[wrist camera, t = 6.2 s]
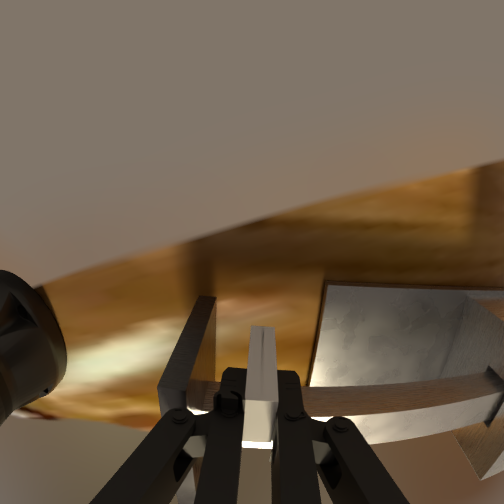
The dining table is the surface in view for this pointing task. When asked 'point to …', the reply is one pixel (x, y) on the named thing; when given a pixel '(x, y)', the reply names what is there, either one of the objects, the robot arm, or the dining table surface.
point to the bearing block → (415, 346)
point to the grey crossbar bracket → (329, 395)
